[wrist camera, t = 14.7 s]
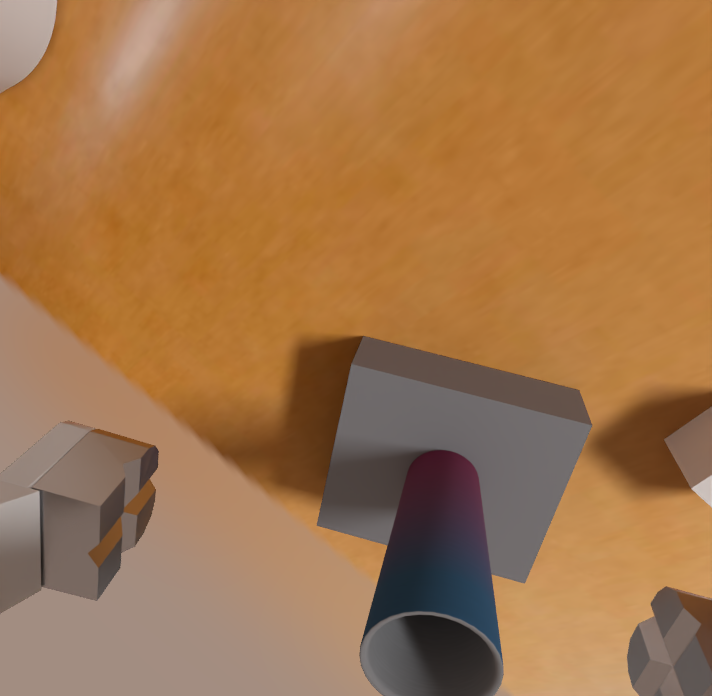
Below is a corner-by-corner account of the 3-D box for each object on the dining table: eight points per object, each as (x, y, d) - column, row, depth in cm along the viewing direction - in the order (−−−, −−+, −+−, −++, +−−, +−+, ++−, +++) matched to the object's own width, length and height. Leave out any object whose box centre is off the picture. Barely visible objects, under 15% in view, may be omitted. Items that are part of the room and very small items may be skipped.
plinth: (330, 486, 50) (316, 525, 46) (363, 336, 44) (351, 363, 40) (519, 537, 49) (524, 583, 44) (579, 390, 43) (592, 425, 38)
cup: (427, 532, 44) (409, 729, 30) (375, 463, 42) (331, 638, 29) (510, 496, 42) (530, 693, 28) (459, 422, 40) (454, 592, 26)
